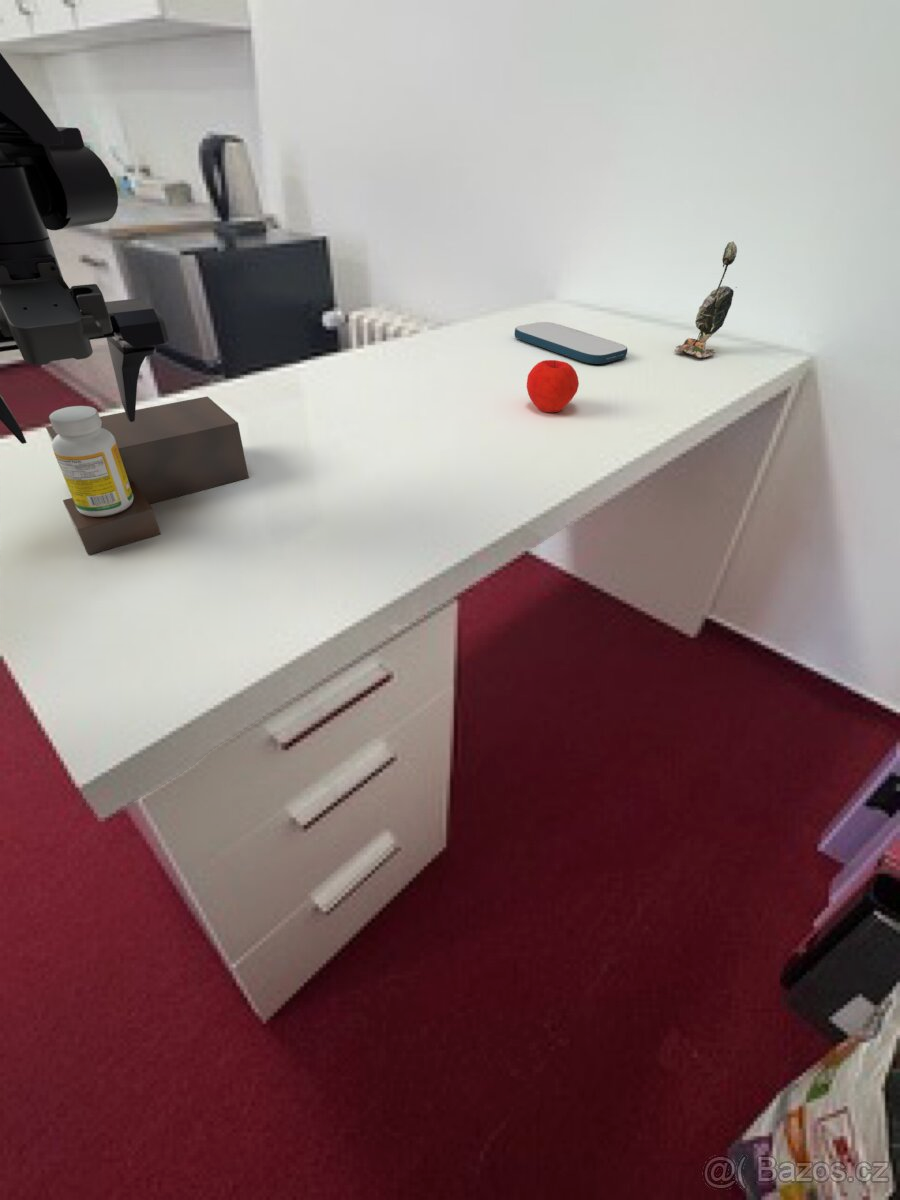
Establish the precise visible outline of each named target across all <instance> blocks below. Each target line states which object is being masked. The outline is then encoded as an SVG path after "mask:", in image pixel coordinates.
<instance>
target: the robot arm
mask: <svg viewBox="0 0 900 1200" xmlns="http://www.w3.org/2000/svg"><path fill="white" fill-rule="evenodd" d="M118 206H119V193H118V188H117V184H116V181H115V179H114V177H113V176H112V175H111V173H110V171H109V169H108V167H107V166H106V164H105V163H104V162H103V160H102V158H100V157H99V156H98V155H97V153H96V152H94V151H93V150H92V149H90V148H89V147H88V146H85V142H84V140H83V135H82V132H81V130H80V129H79V127H69V126H68V127H67V126H56V125H55V124H54V123H53V121H52V120H51V118H50V117H49V115H47V113H46V112H45V110H44V109H43V108H42V106H41V105H40V104H39V102H38V101H37V100H36V98H35V97H34V96H33V94H32V93H31V91H30V90H29V89H28V88H27V86H26V85H25V84H24V82H23V81H22V80H21V78H20V77H19V76H18V74H17V72H16V71H14V69H13V67H12V66H11V65H10V64H9V62H8V61H7V60H6V58H5V57H4V55H3V54H2V52H0V353H2V352H9V351H16V350H17V351H18V350H19V352H20V355H21V358H22V359H23V360H24V362H26V363H28V364H30V365H33V366H44V365H45V366H46V365H48V364H49V365H50V363H51V362H56V361H63V360H70V359H74V360H76V361H78V360H84V359H88V358H89V357H91V356H92V355H93V351H94V350H93V347H92V343H91V340H100V339H106V342H107V346H108V351H109V355H110V359H111V363H112V367H113V372H114V377H115V381H116V384H117V388H118V394H119V397H120V401H121V405H122V407H123V411H124V412H125V413H126V415H127V418H128V420H129V421H130V422H133V421H135V410H137V409H136V408H137V407H136V406H137V393H138V392H137V391H138V381H139V376H140V370H141V367H142V365H143V363H144V360H145V359H146V357H148V356H151V355H155V354H156V352H157V351H156V350H157V349H156V346H157V345H163V344H164V345H165V344H167V343H168V342H170V338H169V335H168V334H169V333H168V330H167V327H166V323H165V320H164V318H163V316H162V314H161V313H160V312H159V311H157V310H156V308H153V307H152V306H151V305H150V304H148V303H147V302H145V301H144V300H142V299H141V298H140V297H139V298H128V299H120V300H119V299H118V300H110V301H105V298H104V294H103V292H102V290H101V289H100V287H99V286H98V284H97V283H91V284H90V283H89V284H81V285H79V284H78V285H71V287H70V286H69V285H68V283H67V282H66V281H65V279H64V276H63V273H62V271H61V267H60V265H59V262H58V259H57V256H56V253H55V250H54V247H53V245H52V241H51V238H50V235H49V232H48V230H49V231H60V230H61V231H62V230H66V229H73V228H78V227H83V226H89V225H95V224H101V223H106V222H109V221H110V220H112V219H113V217H114V216H115V215H116V213H117V210H118ZM0 421H1V423H2V424H3V425H4V426H5V427H6V428H7V430H9V432H11V433H12V435H13V436H14V437H15V438H16V439H17V440H18V442H19V443H21V445H24V444H27V443H28V442H27V440H26V437H25V434H24V433H23V431H22V428H21V426H20V424H19V422H18V420H17V419H16V417H15V415H14V414H13V412H12V410H11V409H10V407H9V405H8V404H7V402H6V401H5V399H4V397H3V396H2V394H1V393H0Z"/></svg>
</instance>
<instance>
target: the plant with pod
mask: <svg viewBox="0 0 900 1200" xmlns="http://www.w3.org/2000/svg"><path fill="white" fill-rule="evenodd" d="M737 254H738V248H737V245H736V243H735V242H734V240H733V241H730V242H728V243H727V244H726V246H725V247H724V251H723V254H722V259H721V261H722V268H724V270H723V272H722V276H721V278H720V281H719V284H718V286H717V288H715V289H713V290H712V291H711V292H710V293H709V294H708V295H707V296H706V297H705V299H703V302H702V304H701V305H700V306H699V307H698V311H697V313H696V317H695V327H696V328H697V330H699V333H698V336H697V339H696V338H689V337H688V338H687V339H685V341H684V342H683V343H682V344H679V345H677V346H676V347H675V349H674V352H676V353H677V352H682V351H684V353H686V354H688V355H691V356H693V357H694V358H696V359H697V358H701V359H702V358H707V357H709V356H713V357H714V355H715V354H716V353H715V349H714V348H708V349H707V348H706V345H707V342H708V340H709V339H710V338H711V337H712V336H713V335H714V334H715V333H717V332H718V331H719V330H720V329H721V328H722V327H723V325H724V324H725V323H724V322H725V321H726V318H727V316H728V313H729V310H730V309H731V307H732V303H733V297H734V292H735V290H733V288H731V287H730V286H727V285H722V283H723V280H724V278H725V275H726V272H727V270H728V268H729V266H730V265H732V264H733V263H734V262H735V260H736V257H737ZM721 285H722V286H721ZM737 288H738V287H737V286H735V289H737Z"/></svg>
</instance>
